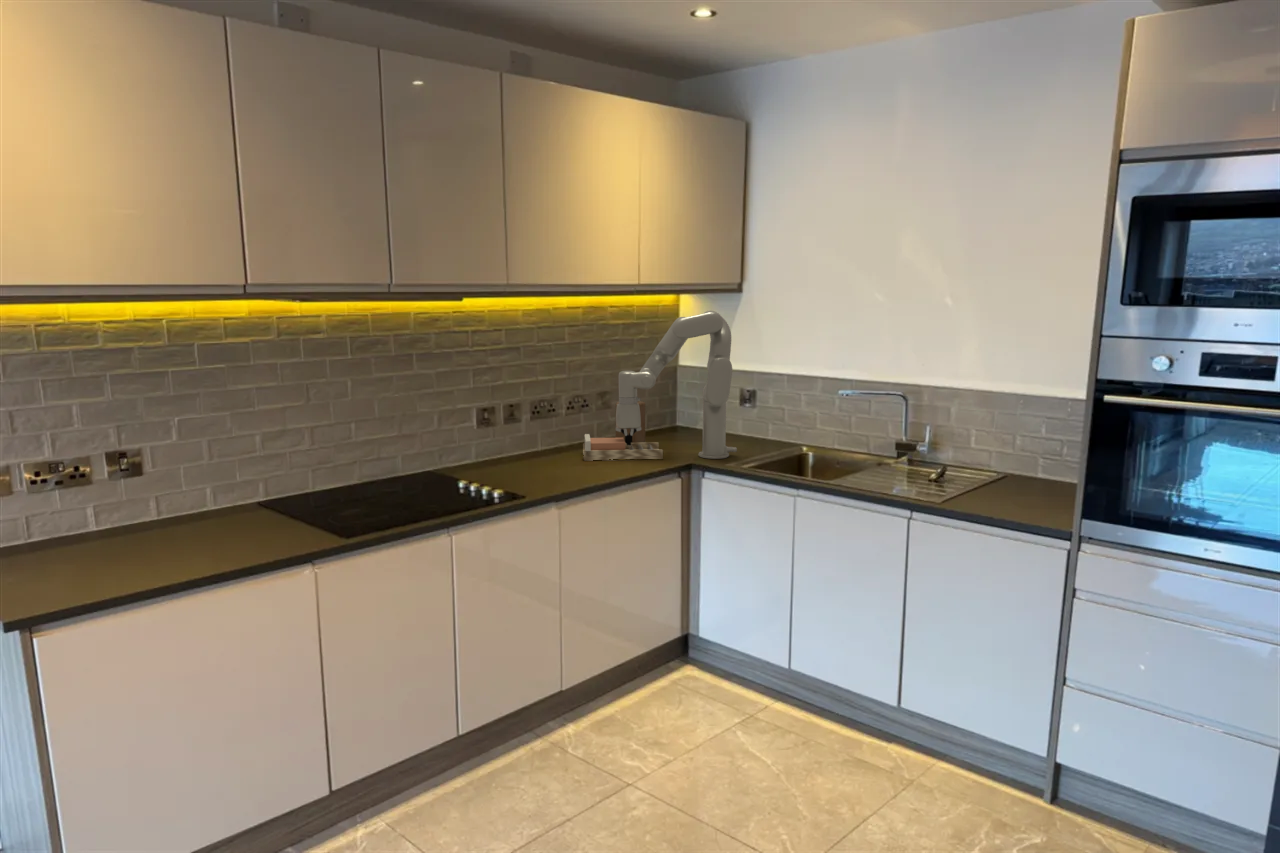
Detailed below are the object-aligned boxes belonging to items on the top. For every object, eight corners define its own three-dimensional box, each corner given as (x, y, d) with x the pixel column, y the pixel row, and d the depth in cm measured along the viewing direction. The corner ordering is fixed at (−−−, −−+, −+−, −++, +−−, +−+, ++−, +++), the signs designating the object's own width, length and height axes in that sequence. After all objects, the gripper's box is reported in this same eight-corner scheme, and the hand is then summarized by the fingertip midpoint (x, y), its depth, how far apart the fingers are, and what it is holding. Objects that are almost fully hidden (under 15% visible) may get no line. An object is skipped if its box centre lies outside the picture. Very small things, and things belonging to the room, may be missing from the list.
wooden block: (646, 446, 363) (646, 401, 359) (633, 450, 354) (634, 404, 351) (627, 443, 368) (627, 399, 365) (614, 447, 360) (614, 402, 356)
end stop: (589, 449, 349) (589, 434, 347) (590, 457, 333) (590, 441, 332) (584, 449, 348) (584, 434, 347) (585, 457, 333) (585, 441, 332)
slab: (623, 444, 347) (623, 437, 347) (625, 450, 336) (625, 442, 335) (590, 444, 346) (590, 437, 346) (591, 450, 334) (591, 443, 334)
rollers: (651, 448, 350) (651, 444, 349) (655, 455, 336) (655, 450, 336) (590, 449, 347) (590, 445, 347) (591, 456, 334) (591, 451, 334)
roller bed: (658, 451, 351) (658, 442, 351) (662, 459, 336) (662, 449, 335) (583, 452, 349) (583, 443, 348) (584, 460, 333) (584, 451, 332)
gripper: (645, 399, 343) (645, 442, 346) (609, 400, 341) (610, 443, 345) (647, 401, 335) (647, 445, 339) (610, 402, 334) (611, 447, 337)
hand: (628, 444), depth 342 cm, fingers closed
